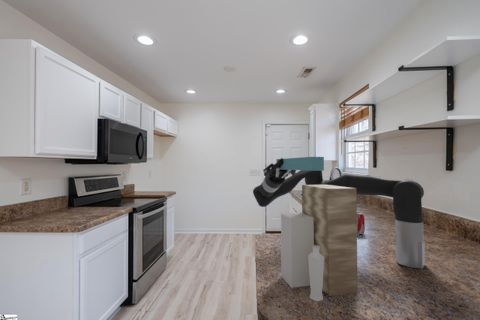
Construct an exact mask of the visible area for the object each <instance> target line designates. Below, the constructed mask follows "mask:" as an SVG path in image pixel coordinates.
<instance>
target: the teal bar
mask: <svg viewBox="0 0 480 320" xmlns="http://www.w3.org/2000/svg"><path fill="white" fill-rule="evenodd" d="M280 159H281V158H277V159H276V163H277V162H278V160H280ZM283 161H284V163H283V165H282V166H281V168H279V169H281V170H296V171H300V170H310V171H322V172H324V171H325V157H324V156H303V157H291V158H290V157H289V158H283Z"/></svg>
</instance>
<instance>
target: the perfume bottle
mask: <svg viewBox="0 0 480 320" xmlns="http://www.w3.org/2000/svg"><path fill="white" fill-rule="evenodd" d="M312 247H313V252H312V253H310V254H309V255H308V261H309V274H310V287H309V288H310V293H309V299H311V300H313V301H315V302H319V301H323V300H324V297H323V296H324V295H323V290H322V286H323V271H324V256H322V255H321V254H320V253H319V248H320V247H319V246H318V245H313V246H312Z"/></svg>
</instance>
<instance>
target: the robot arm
mask: <svg viewBox="0 0 480 320" xmlns="http://www.w3.org/2000/svg"><path fill="white" fill-rule="evenodd" d="M279 159H280V160H278V162H277V163H270V164H269V165H268V166H266V167H265V168H264V169H263V170H262V171H263V176H264V177H263V181H262V182H261V184H260V185H257V186H255V187H254V188H253V189H252V194H253V196H254V198H255V200H256V202H257V204H258V206H259V207H262V208H264V207H268V206H269V205H270V204H271V203H273V201H275V200H276V199H278V198H280V197H283V196H285V195H287V194H289V193H290V192H292V191H293V190H294V189H295V188H296V187H297V186H298V184H299V183H300V182H301V181H302V180H303V179H304V182H305V185H333V186H342V187H350V188H356V195H362V196H383V197H389V198H392V204H393V205H392V207H393V213H394V228H395V229H394V230H395V231H394V235H395V236H394V237H395V247H394V248H395V262H396V263H397V264H399V265H402V266H404V267H407V268H413V269H421V270H423V269H424V268H425V266H426V246H425V245H426V242H425V240H424V215H423V209H422V208H423V207H422V202H423V201H422V198H423V197H424V194H425V190H424V188H423V186H422V185H421V184H419V183H418V182H417V181H415V180H407V179H406V180H398V179H396V180H395V179H394V180H393V179H385V178H384V179H383V178H380V177H374V176H369V175H363V174H358V173H357V174H356V173H344V174H342V175H340V176H338V177H336V178H333V179H324V178H323V171H310V170H298V171H297V170H281V169H279V168H281V166H282V165H283V163H284V161H283V159H284V158H282V157H281V158H279ZM296 171H297V172H296ZM290 175H291V176H290Z"/></svg>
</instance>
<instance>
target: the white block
mask: <svg viewBox="0 0 480 320" xmlns="http://www.w3.org/2000/svg"><path fill="white" fill-rule="evenodd" d="M280 221H281V222H280V224H281V225H280V229H281V230H280V232H281V233H280V236H281V240H280V245H281V246H280V247H281V249H280V255H281V256H280V258H281V259H280V260H281V261H280V264H281V265H280V268H281V269H280V270H281V271H280V277H281V278H282V279H283V281H284V282H286V283H287V284H288V286H289V287H290V288H291V289H293V288H300V287H308V286H310V274H309V261H308V255H309V254H310V253H312V252H313V247H312V246H313V245H314V217H311V216H309V215H306V214H304V213H302V212H291V213H290V212H289V213H287V212H286V213H281V214H280Z"/></svg>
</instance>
